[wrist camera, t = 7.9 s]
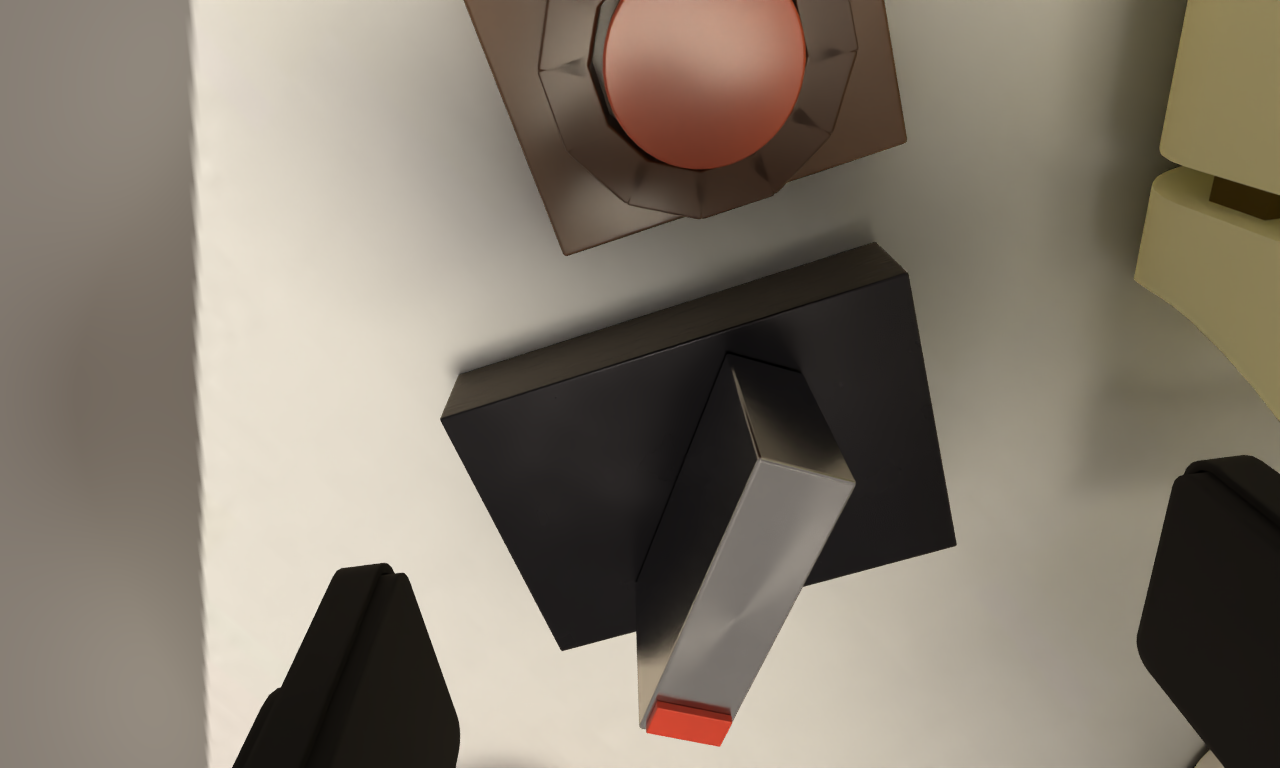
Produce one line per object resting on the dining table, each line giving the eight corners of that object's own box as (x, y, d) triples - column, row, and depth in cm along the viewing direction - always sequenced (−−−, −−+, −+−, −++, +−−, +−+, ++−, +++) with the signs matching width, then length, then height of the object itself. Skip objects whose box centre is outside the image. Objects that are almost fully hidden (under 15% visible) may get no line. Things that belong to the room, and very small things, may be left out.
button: (762, -77, 17) (780, -85, 15) (806, 119, 19) (825, 133, 17) (577, -7, 17) (572, -7, 16) (638, 178, 19) (640, 196, 18)
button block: (834, -190, 19) (879, -228, 15) (891, 134, 22) (935, 156, 19) (456, -43, 20) (426, -49, 17) (567, 242, 23) (559, 281, 20)
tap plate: (875, 240, 24) (909, 272, 21) (925, 493, 28) (957, 546, 25) (458, 374, 25) (438, 419, 23) (566, 592, 30) (561, 652, 27)
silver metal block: (726, 351, 22) (760, 464, 17) (804, 373, 22) (861, 489, 17) (634, 586, 26) (638, 736, 20) (701, 600, 26) (722, 752, 21)
